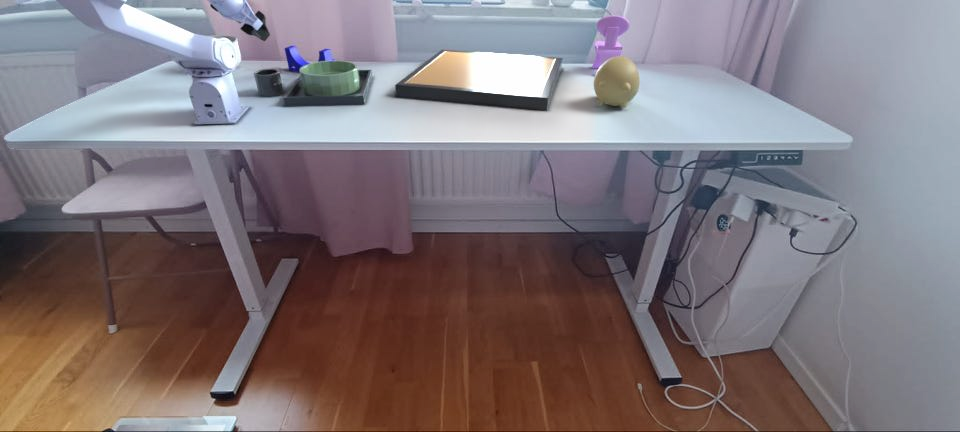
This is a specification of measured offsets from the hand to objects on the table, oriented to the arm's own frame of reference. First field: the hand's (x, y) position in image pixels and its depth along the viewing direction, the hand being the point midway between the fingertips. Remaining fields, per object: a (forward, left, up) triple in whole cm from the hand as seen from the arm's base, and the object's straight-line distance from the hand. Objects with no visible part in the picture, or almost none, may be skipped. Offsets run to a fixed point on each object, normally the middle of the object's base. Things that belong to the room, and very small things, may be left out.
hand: (254, 28), depth 106 cm
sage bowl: (-4, -16, -14) cm, 22 cm away
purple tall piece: (+7, -88, -14) cm, 90 cm away
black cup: (-5, -2, -14) cm, 15 cm away
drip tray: (-4, -16, -14) cm, 22 cm away
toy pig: (-19, -81, -14) cm, 85 cm away
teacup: (+17, +18, -14) cm, 28 cm away
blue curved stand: (+14, -8, -14) cm, 21 cm away
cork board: (+1, -54, -14) cm, 56 cm away
